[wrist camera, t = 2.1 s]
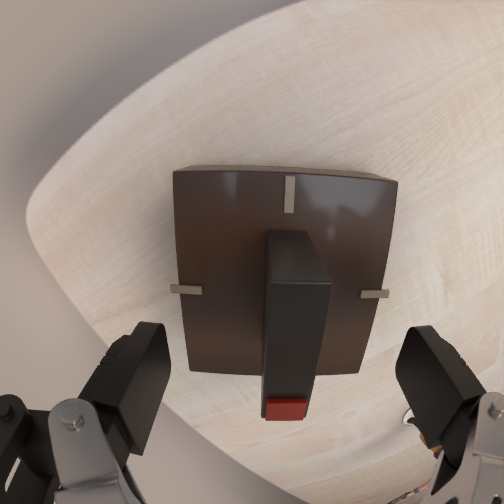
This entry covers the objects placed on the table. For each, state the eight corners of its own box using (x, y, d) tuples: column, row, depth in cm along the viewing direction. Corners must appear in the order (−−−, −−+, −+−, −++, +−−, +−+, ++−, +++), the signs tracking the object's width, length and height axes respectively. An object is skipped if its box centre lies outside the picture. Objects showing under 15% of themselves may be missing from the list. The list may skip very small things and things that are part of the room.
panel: (183, 165, 13) (162, 171, 11) (379, 174, 13) (407, 183, 10) (193, 337, 17) (182, 372, 14) (351, 341, 17) (365, 375, 14)
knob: (266, 229, 11) (269, 285, 7) (307, 230, 11) (335, 286, 7) (261, 343, 13) (260, 423, 9) (295, 344, 13) (306, 423, 9)
